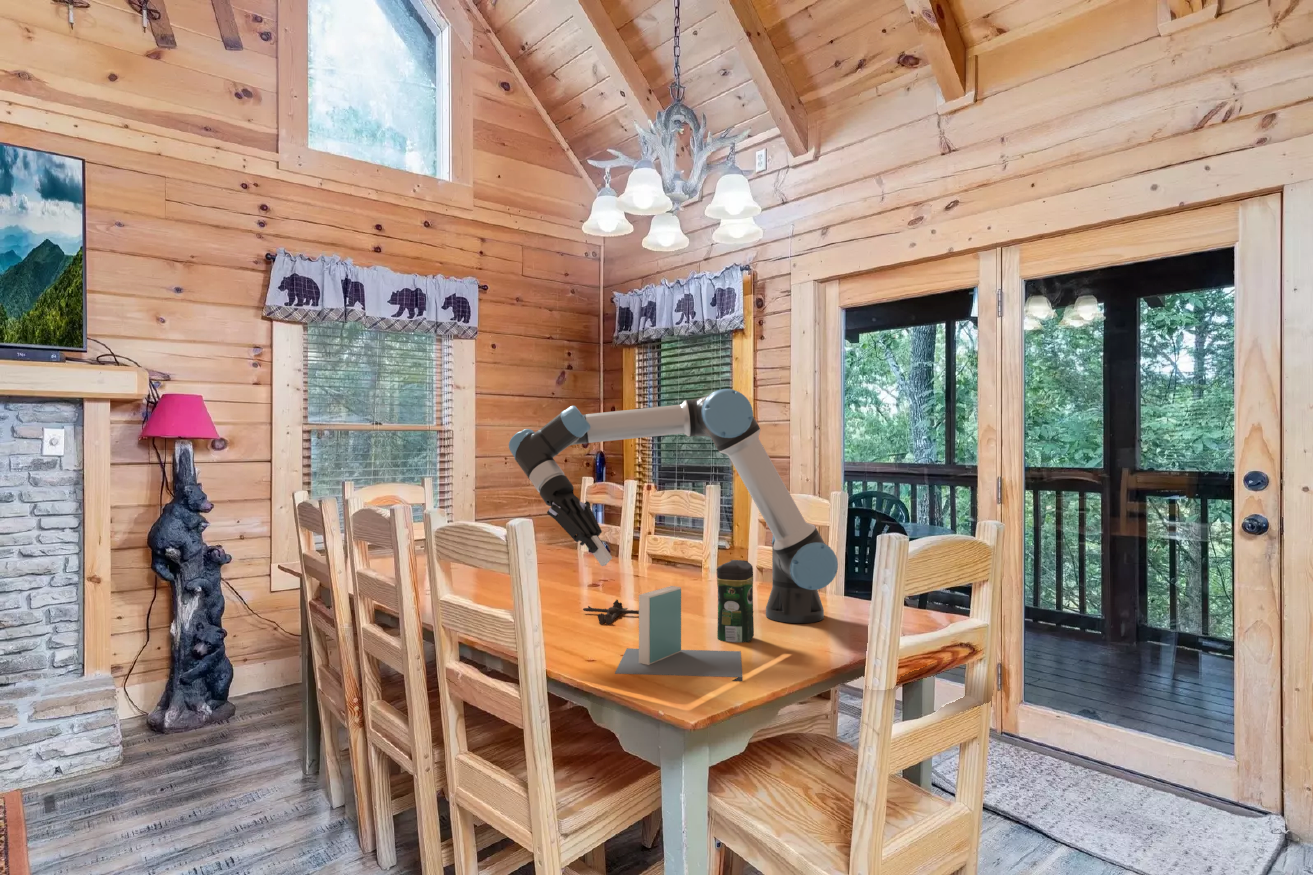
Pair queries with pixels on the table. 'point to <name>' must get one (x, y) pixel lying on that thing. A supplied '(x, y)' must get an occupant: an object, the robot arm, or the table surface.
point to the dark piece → (611, 612)
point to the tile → (659, 624)
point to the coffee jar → (735, 601)
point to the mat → (686, 664)
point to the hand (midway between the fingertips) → (606, 561)
